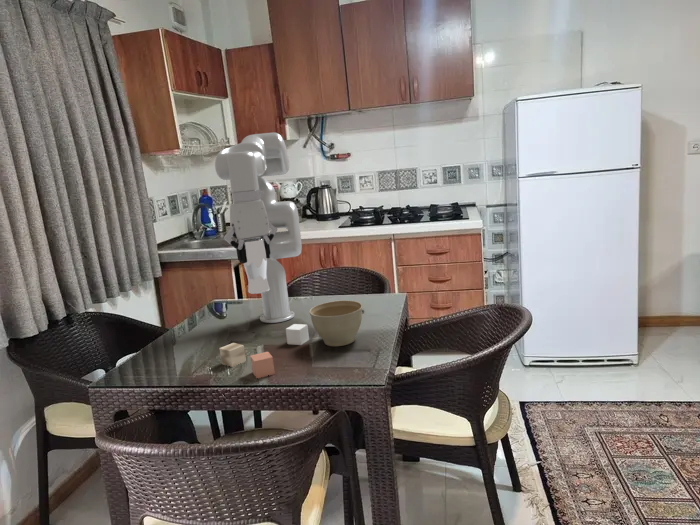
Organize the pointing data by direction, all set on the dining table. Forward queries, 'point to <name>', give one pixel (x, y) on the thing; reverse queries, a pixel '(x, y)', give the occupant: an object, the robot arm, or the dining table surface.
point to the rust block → (262, 364)
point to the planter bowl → (337, 321)
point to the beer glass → (256, 265)
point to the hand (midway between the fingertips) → (254, 259)
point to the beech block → (232, 354)
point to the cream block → (297, 334)
